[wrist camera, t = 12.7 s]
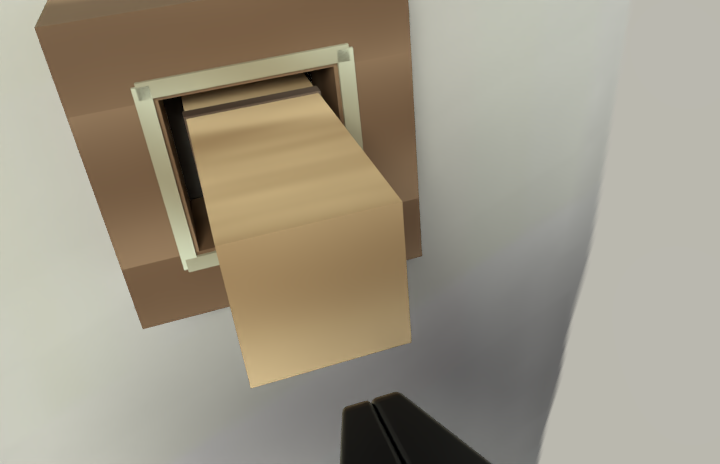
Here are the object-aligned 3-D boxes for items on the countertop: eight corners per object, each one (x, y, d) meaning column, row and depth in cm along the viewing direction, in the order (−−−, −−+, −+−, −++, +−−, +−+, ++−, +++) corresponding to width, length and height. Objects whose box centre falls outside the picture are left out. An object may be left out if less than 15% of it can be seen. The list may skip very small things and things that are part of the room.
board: (388, 209, 22) (423, 257, 19) (140, 269, 20) (143, 331, 18) (367, -51, 18) (407, -33, 15) (48, -2, 16) (34, 28, 13)
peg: (307, 159, 20) (413, 343, 13) (201, 183, 20) (248, 391, 12) (292, 54, 18) (404, 198, 11) (174, 76, 18) (211, 243, 10)
